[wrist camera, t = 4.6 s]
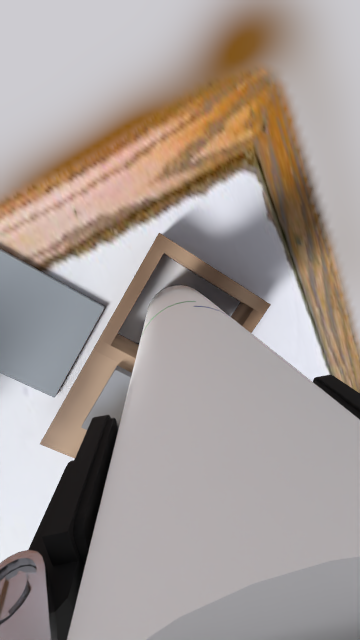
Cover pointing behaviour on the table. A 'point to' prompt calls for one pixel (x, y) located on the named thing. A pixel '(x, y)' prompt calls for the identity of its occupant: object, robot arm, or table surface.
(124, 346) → the wooden divided tray
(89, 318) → the mat
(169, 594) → the cylindrical container
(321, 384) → the robot arm
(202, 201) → the table surface
